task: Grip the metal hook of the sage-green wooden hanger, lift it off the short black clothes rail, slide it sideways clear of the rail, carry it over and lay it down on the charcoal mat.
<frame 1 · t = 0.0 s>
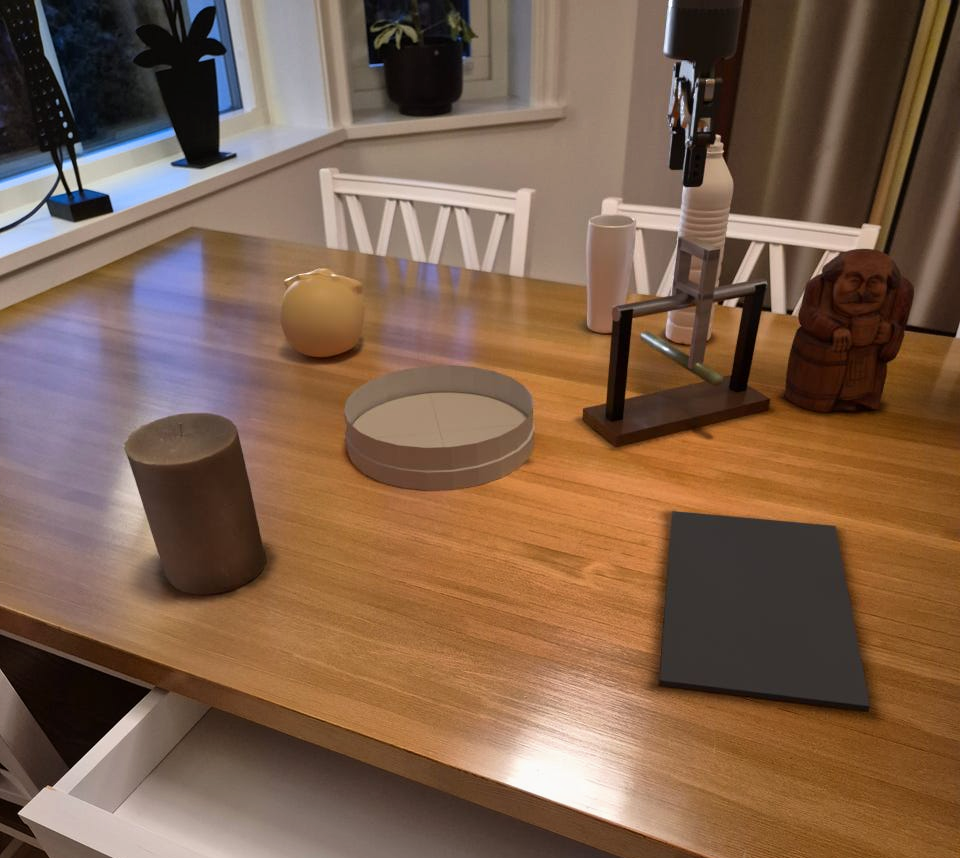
hand: (684, 177, 98), 24 cm above the table, tool pointing down, fingers open, 8 cm apart
hanger: (683, 359, 102), point 7 cm above the table, touching rail stand
mat: (755, 599, 78), on the table
wooden figurine: (831, 403, 108), on the table
water bottle: (687, 335, 127), on the table
dish: (441, 444, 102), on the table
pillar candle: (216, 567, 83), on the table
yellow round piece: (327, 350, 125), on the table
rail stand: (675, 414, 106), on the table
drinking glass: (604, 329, 129), on the table
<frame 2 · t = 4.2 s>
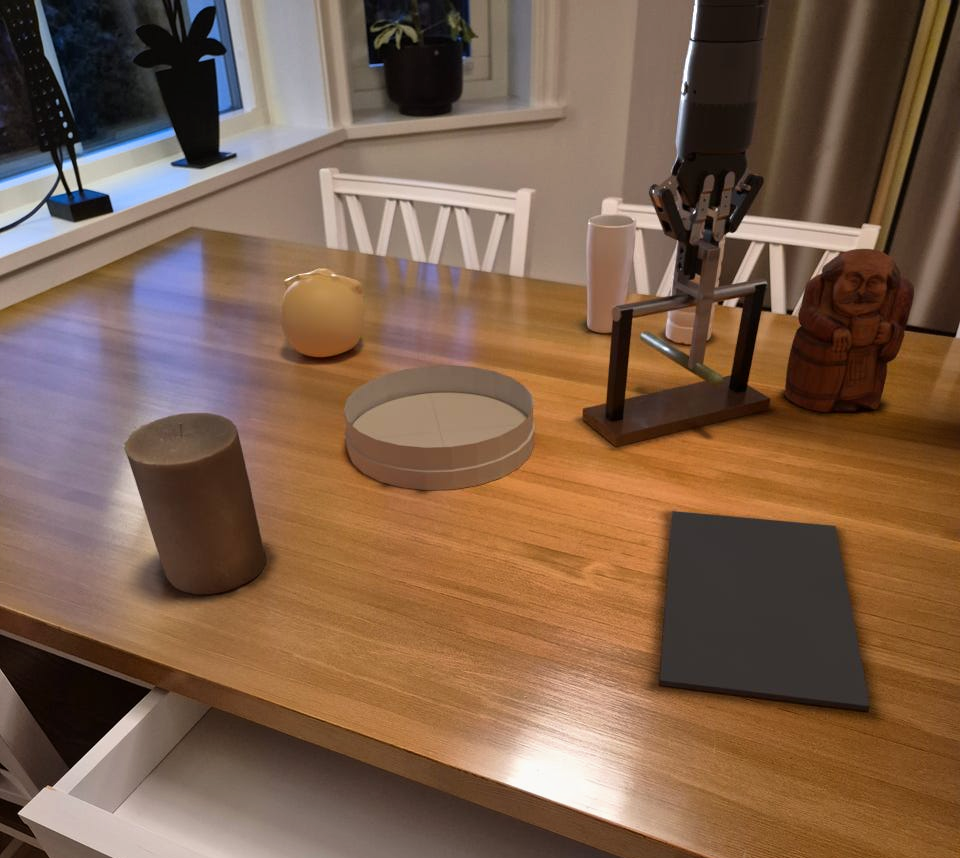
hand: (694, 276, 96), 17 cm above the table, tool pointing down, fingers closed on hanger, 1 cm apart
hanger: (683, 359, 102), point 7 cm above the table, touching gripper, rail stand
everything else where it was.
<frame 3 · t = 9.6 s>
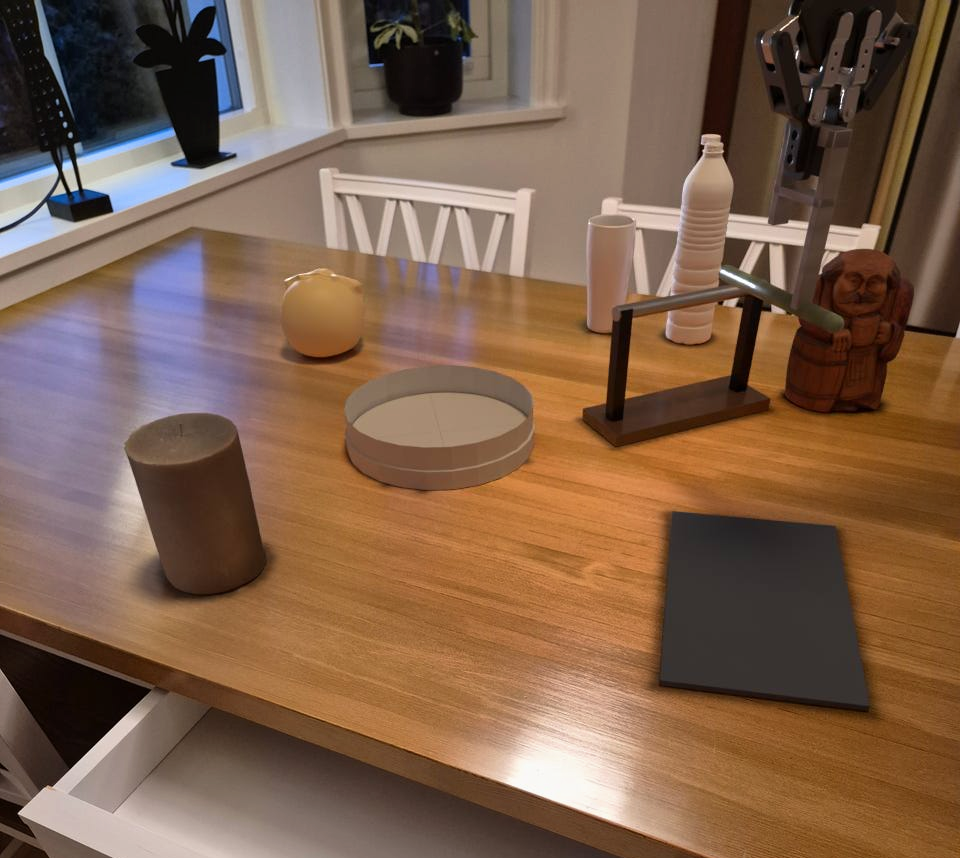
hand: (808, 176, 68), 31 cm above the table, tool pointing down, fingers closed on hanger
hanger: (782, 299, 74), point 22 cm above the table, touching gripper
everything else where it was.
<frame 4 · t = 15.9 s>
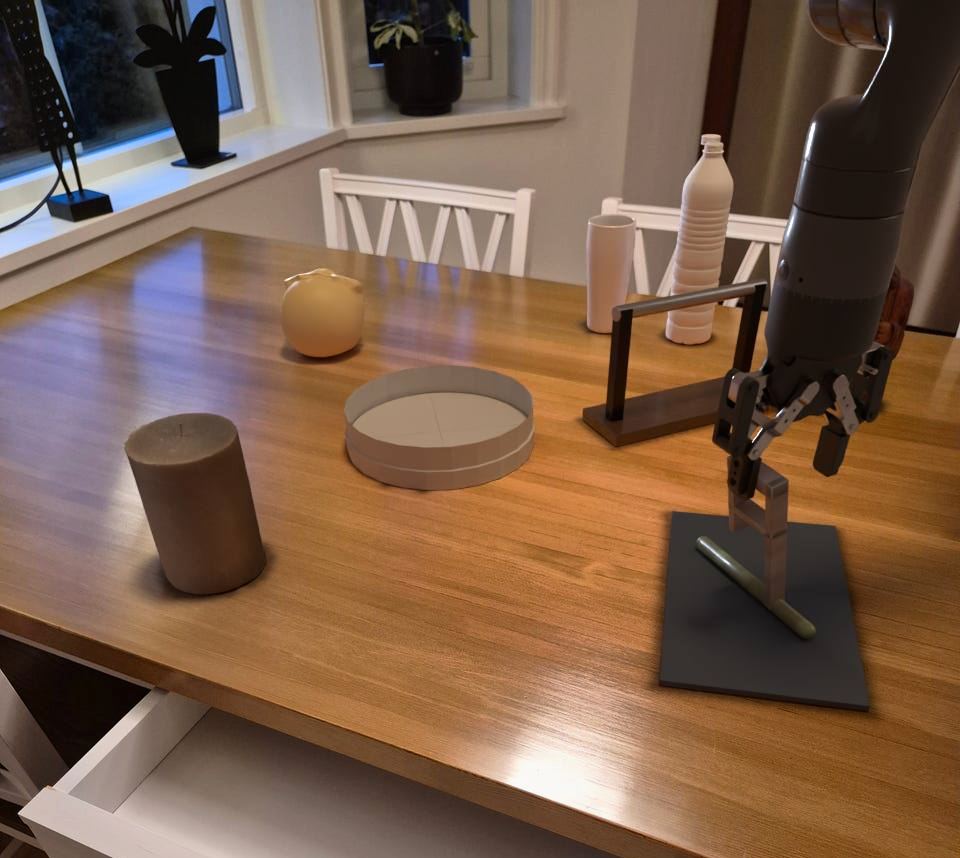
hand: (783, 483, 70), 12 cm above the table, tool pointing down, fingers open, 8 cm apart
hanger: (756, 588, 77), point 1 cm above the table, tilted 13°, touching mat
everything else where it was.
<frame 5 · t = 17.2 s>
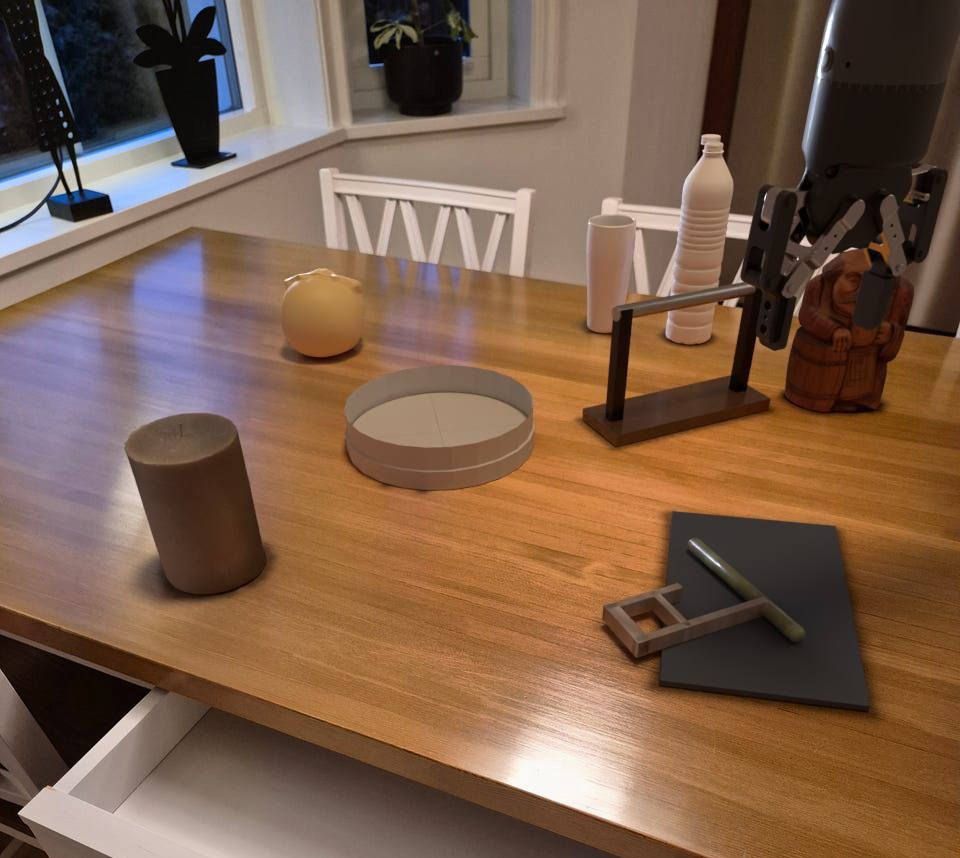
hand: (819, 336, 62), 24 cm above the table, tool pointing down, fingers open, 8 cm apart
hanger: (747, 590, 76), point 1 cm above the table, tilted 90°, touching mat
everything else where it was.
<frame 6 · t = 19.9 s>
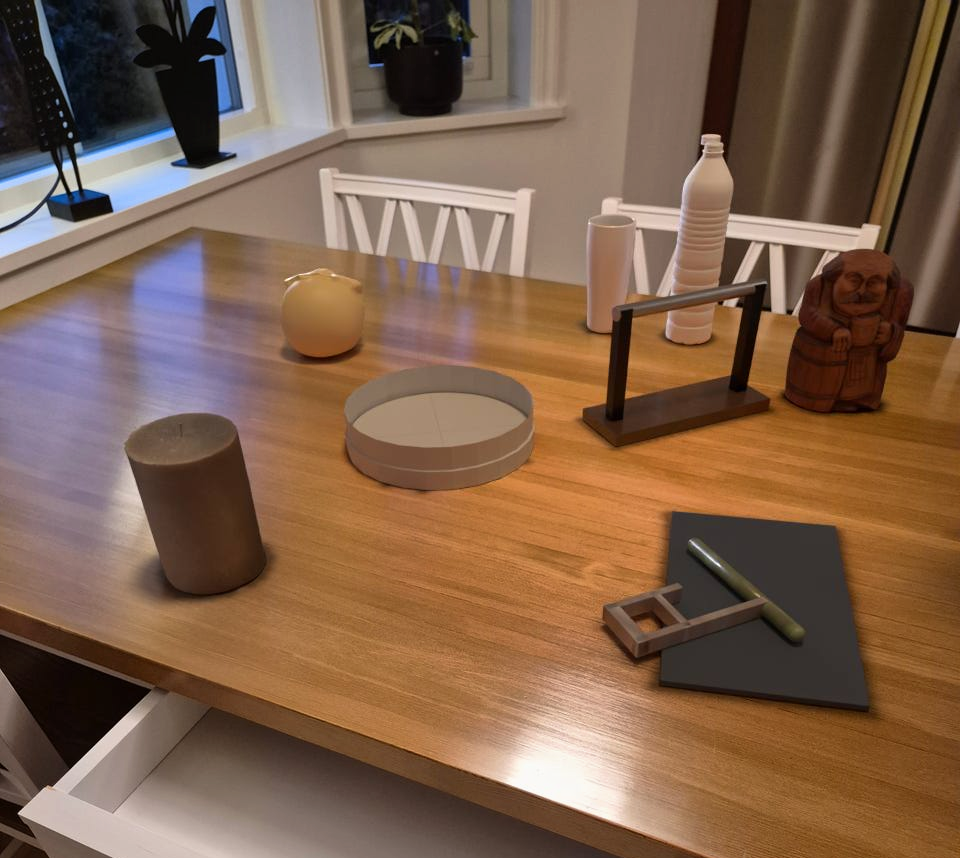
nothing on the table moved.
at the end: hanger touching mat; hanger inside the target area on the mat (1.3 cm from its centre), point 1.4 cm above the mat's base; the gripper is holding nothing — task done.
